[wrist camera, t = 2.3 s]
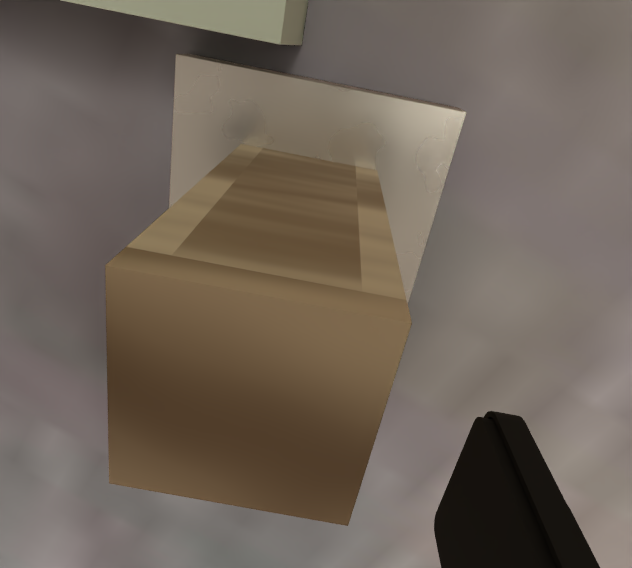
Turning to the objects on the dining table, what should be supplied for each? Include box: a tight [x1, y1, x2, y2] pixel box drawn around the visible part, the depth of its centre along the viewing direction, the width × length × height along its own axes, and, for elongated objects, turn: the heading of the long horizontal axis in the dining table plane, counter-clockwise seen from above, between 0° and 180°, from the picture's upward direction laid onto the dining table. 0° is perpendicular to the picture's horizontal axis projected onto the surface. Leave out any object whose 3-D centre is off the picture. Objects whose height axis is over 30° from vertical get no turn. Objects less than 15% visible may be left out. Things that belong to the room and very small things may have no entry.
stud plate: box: [169, 54, 466, 304], centre depth 17 cm, size 10×10×6 cm
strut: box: [105, 144, 412, 526], centre depth 14 cm, size 5×5×11 cm
